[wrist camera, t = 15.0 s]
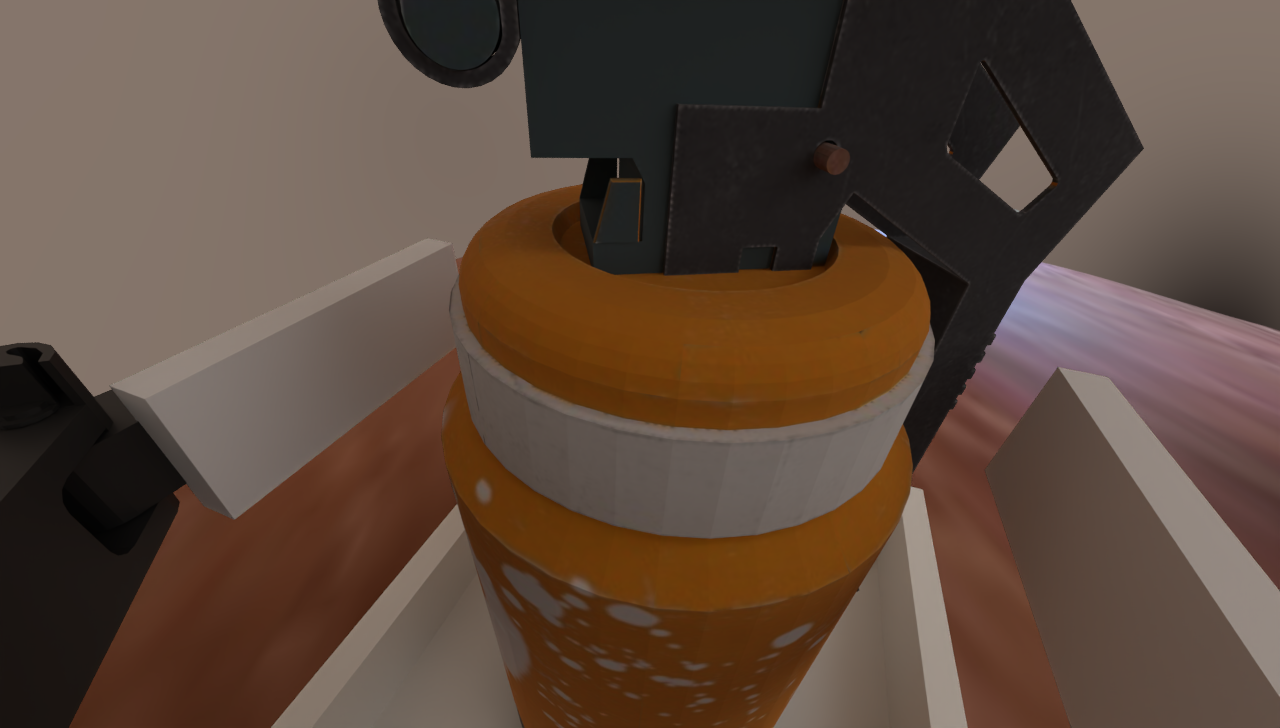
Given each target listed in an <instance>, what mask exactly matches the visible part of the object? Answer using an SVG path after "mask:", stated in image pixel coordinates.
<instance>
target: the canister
mask: <svg viewBox="0 0 1280 728" xmlns="http://www.w3.org/2000/svg"><path fill="white" fill-rule="evenodd" d="M378 5H379V10H380V13H381V16H382V19H383V22H384V25H385V27H386V29H387V31H388V33H389V35H390V36H391V39H392V40H393V42H394V44H395V45H396V46H397V47H398V49H399V50H400V51H401V53H402V54H403V56H404V57H405V58H406V59H407V60H408V61H409V62H410V63H411V64H412V65H413V66H414V67H415V68H416V69H418V70H419V71H421V72H422V73H423V74H425V75H426V76H427V77H429V78H431V79H433V80H435V81H437V82H439V83H441V84H445V85H448V86H452V87H458V88H472V87H478V86H482V85H484V84H486V83H489V82H491V81H493V80H494V79H495V78H497V77H498V76H499V75H501V74H502V73H503V72H504V70H505V69H506V68H507V67H508V65H509V64H510V62H511V60H512V58H513V57H514V54H515V53H516V50H517V48H518V45H519V42H520V39H521V43H522V55H523V67H524V78H525V91H526V103H527V113H528V114H527V115H528V126H529V138H530V150H531V157H532V158H534V157H535V158H589V160H588V165H587V169H586V173H585V177H584V181H583V184H581V185H576V186H570V187H565V188H560V189H556V190H552V191H548V192H544V193H540V194H538V195H535V196H532V197H529V198H526V199H523V200H521V201H519V202H517V203H515V204H513V205H511V206H509V207H507V208H506V209H504V210H503V211H501V212H500V213H498V214H497V215H496V216H494V217H493V218H491V219H490V220H489V221H488V222H486V223H485V224H484V225H483V227H482V228H481V229H480V230H479V231H478V232H477V233H476V234H475V236H474V237H473V239H472V240H471V242H470V244H469V245H468V248H467V250H466V252H465V254H464V256H463V259H462V262H461V266H460V273H459V275H458V277H457V279H456V282H455V284H454V286H453V288H452V290H451V295H450V304H449V314H450V319H451V323H452V328H453V333H454V338H455V343H456V348H457V353H458V358H459V363H460V368H461V371H460V373H459V375H458V376H457V378H456V380H455V381H454V383H453V385H452V387H451V389H450V392H449V395H448V398H447V401H446V404H445V407H444V411H443V422H442V432H441V438H442V444H443V450H444V457H445V463H446V467H447V470H448V474H449V477H450V481H451V484H452V488H453V491H454V494H455V498H456V501H457V505H458V508H459V512H460V515H461V519H462V522H463V525H464V529H465V532H466V536H467V539H468V543H469V546H470V550H471V553H472V556H473V560H474V563H475V567H476V570H477V574H478V577H479V581H480V584H481V587H482V591H483V594H484V598H485V601H486V605H487V608H488V612H489V615H490V618H491V622H492V625H493V629H494V632H495V636H496V639H497V643H498V646H499V649H500V653H501V656H502V660H503V663H504V667H505V670H506V674H507V677H508V680H509V684H510V687H511V691H512V694H513V698H514V701H515V704H516V707H517V711H518V715H519V718H520V722H521V725H522V727H523V728H773V727H774V726H775V724H776V722H777V721H778V719H779V717H780V716H781V714H782V713H783V711H784V709H785V708H786V706H787V704H788V703H789V701H790V699H791V698H792V696H793V695H794V693H795V691H796V690H797V688H798V686H799V685H800V683H801V681H802V680H803V678H804V677H805V675H806V673H807V672H808V670H809V668H810V667H811V665H812V663H813V662H814V660H815V659H816V657H817V655H818V654H819V652H820V650H821V649H822V647H823V646H824V644H825V642H826V641H827V639H828V637H829V636H830V634H831V632H832V631H833V629H834V628H835V626H836V624H837V623H838V621H839V619H840V618H841V616H842V614H843V613H844V611H845V610H846V608H847V606H848V605H849V603H850V601H851V600H852V598H853V596H854V595H855V593H856V592H858V591H860V590H859V587H860V585H861V583H862V582H863V580H864V578H865V577H866V575H867V574H868V572H869V570H870V569H871V567H872V565H873V564H874V562H875V560H876V559H877V557H878V556H879V554H880V552H881V551H882V549H883V547H884V546H885V544H886V542H887V541H888V539H889V538H890V536H891V534H892V533H893V531H894V529H895V528H896V526H897V524H898V523H899V521H900V518H901V516H902V513H903V511H904V508H905V505H906V503H907V500H908V498H909V495H910V490H911V479H912V474H913V472H914V470H915V468H916V467H917V465H918V463H919V462H920V460H921V458H922V456H923V455H924V453H925V451H926V449H927V448H928V446H929V444H930V443H931V441H932V439H933V437H934V436H935V434H936V432H937V431H938V429H939V427H940V425H941V424H942V422H943V420H944V419H945V417H946V415H947V413H948V412H949V410H951V409H953V408H954V407H955V405H956V403H957V399H956V398H957V396H958V395H961V394H962V393H963V391H964V390H965V388H966V384H965V382H966V381H967V379H971V378H972V376H973V374H974V373H975V370H976V369H975V368H974V367H975V365H976V363H979V362H981V361H982V359H983V357H984V355H985V352H984V350H985V348H986V346H987V345H991V344H992V342H993V340H994V338H995V337H996V334H994V332H995V331H996V329H997V327H998V326H999V324H1000V322H1001V320H1002V319H1003V317H1004V315H1005V314H1006V312H1007V310H1008V308H1009V307H1010V305H1011V303H1012V302H1013V300H1014V298H1015V296H1016V295H1017V293H1018V291H1019V289H1020V288H1021V286H1022V284H1023V283H1024V281H1025V280H1026V279H1027V278H1028V276H1029V275H1030V274H1031V273H1032V272H1033V271H1034V270H1035V269H1036V268H1037V267H1038V265H1039V264H1040V263H1041V262H1042V261H1043V260H1044V259H1045V258H1046V256H1047V255H1048V254H1049V253H1050V252H1051V251H1052V250H1053V249H1054V248H1055V246H1056V245H1057V244H1058V243H1059V242H1060V241H1061V240H1062V239H1063V238H1064V237H1065V235H1066V234H1067V233H1068V232H1069V231H1070V230H1071V229H1072V228H1073V227H1074V225H1075V224H1076V223H1077V222H1078V221H1079V220H1080V219H1081V218H1082V217H1083V215H1084V214H1085V213H1086V212H1087V211H1088V210H1089V209H1090V207H1092V205H1093V204H1094V203H1095V202H1096V201H1097V200H1098V199H1099V198H1100V197H1101V195H1102V194H1103V193H1104V192H1105V191H1106V190H1107V189H1108V188H1109V187H1110V185H1111V184H1112V183H1113V182H1114V181H1115V180H1116V179H1117V178H1118V177H1119V175H1120V174H1121V173H1122V172H1123V171H1124V170H1125V169H1126V168H1127V167H1128V166H1129V164H1130V163H1131V162H1132V161H1133V160H1134V159H1135V158H1136V157H1137V155H1138V154H1139V153H1140V152H1141V151H1142V150H1143V149H1144V148H1143V146H1142V144H1141V142H1140V140H1139V138H1138V135H1137V133H1136V131H1135V130H1134V128H1133V125H1132V123H1131V121H1130V119H1129V117H1128V115H1127V113H1126V111H1125V109H1124V107H1123V105H1122V103H1121V101H1120V99H1119V97H1118V95H1117V93H1116V91H1115V89H1114V87H1113V85H1112V83H1111V81H1110V79H1109V77H1108V75H1107V73H1106V71H1105V69H1104V67H1103V65H1102V63H1101V61H1100V58H1099V56H1098V54H1097V52H1096V50H1095V49H1094V46H1093V44H1092V43H1091V40H1090V38H1089V36H1088V34H1087V32H1086V30H1085V28H1084V26H1083V24H1082V22H1081V20H1080V18H1079V16H1078V14H1077V12H1076V10H1075V8H1074V6H1073V4H1072V2H1071V0H378ZM495 52H496V53H495ZM494 53H495V54H494ZM493 54H494V55H493ZM980 62H981V63H982V65H983V66H982V65H981V63H980ZM983 67H984V68H985V69H984V68H983ZM985 70H986V71H985ZM987 73H988V74H987ZM989 76H990V77H989ZM1019 126H1021V128H1022V129H1023V131H1024V132H1025V134H1026V136H1027V137H1028V139H1029V141H1030V142H1031V144H1032V145H1033V147H1034V149H1035V150H1036V152H1037V154H1038V155H1039V157H1040V158H1041V160H1042V161H1043V163H1044V165H1045V166H1046V168H1047V170H1048V171H1049V173H1050V174H1051V176H1052V178H1053V181H1052V183H1051V185H1050V186H1049V187H1048V188H1047V189H1045V190H1044V191H1043V192H1042V193H1041V194H1040V195H1038V196H1037V197H1036V198H1035V199H1034V200H1033V201H1032V202H1031V203H1029V204H1028V205H1027V206H1026V207H1025V208H1024V209H1023V210H1021V211H1019V212H1016V211H1015V210H1014V209H1013V208H1011V207H1010V206H1009V205H1008V204H1007V203H1006V202H1004V201H1003V200H1002V199H1001V198H1000V197H998V196H997V195H996V194H995V193H994V192H993V191H991V190H990V189H989V188H988V187H987V186H986V185H984V184H983V183H982V182H981V181H980V180H979V179H980V178H981V177H982V175H983V174H984V173H985V171H986V170H987V169H988V167H989V166H990V165H991V164H992V162H993V161H994V160H995V158H996V157H997V155H998V154H999V153H1000V152H1001V150H1002V149H1003V148H1004V146H1005V145H1006V144H1007V142H1008V141H1009V140H1010V138H1011V137H1012V136H1013V134H1014V133H1015V132H1016V130H1017V129H1018V127H1019ZM947 145H948V147H949V148H950V151H949V153H947ZM617 158H619V178H617ZM845 204H846V205H848V206H849V207H850V208H852V209H853V210H855V211H856V212H857V213H858V214H860V215H861V216H862V217H863V218H865V219H866V220H867V221H869V222H870V223H871V224H873V225H874V226H875V227H877V228H878V229H879V230H880V231H882V232H883V233H884V234H886V235H887V237H885V236H883V235H882V234H880V233H879V232H877V231H876V230H874V229H873V228H871V227H869V226H867V225H865V224H863V223H861V222H859V221H857V220H855V219H853V218H851V217H848V216H846V215H844V214H841V210H842V208H843V207H844V205H845Z"/></svg>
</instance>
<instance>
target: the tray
mask: <svg viewBox="0 0 1280 728" xmlns="http://www.w3.org/2000/svg"><path fill="white" fill-rule="evenodd" d="M859 590H860V591H858V592H856V593H855V595H854V596H853V598H852V600H851V601H850V603H849V605H848V606H847V608H846V610H845V611H844V613H843V614H842V616H841V618H840V619H839V621H838V623H837V624H836V626H835V628H834V629H833V631H832V632H831V634H830V636H829V637H828V639H827V641H826V642H825V644H824V646H823V647H822V649H821V650H820V652H819V654H818V655H817V657H816V659H815V660H814V662H813V663H812V665H811V667H810V668H809V670H808V672H807V673H806V675H805V677H804V678H803V680H802V681H801V683H800V685H799V686H798V688H797V690H796V691H795V693H794V695H793V696H792V698H791V699H790V701H789V703H788V704H787V706H786V708H785V709H784V711H783V713H782V714H781V716H780V717H779V719H778V721H777V722H776V724H775V726H774V727H773V728H967V722H966V717H965V712H964V706H963V701H962V696H961V690H960V685H959V680H958V674H957V669H956V664H955V658H954V653H953V648H952V642H951V637H950V632H949V627H948V621H947V616H946V611H945V605H944V600H943V595H942V589H941V584H940V579H939V573H938V568H937V563H936V557H935V552H934V547H933V541H932V536H931V531H930V525H929V520H928V515H927V509H926V504H925V499H924V493H923V490H922V489H918V488H914V487H911V490H910V495H909V498H908V500H907V503H906V505H905V508H904V511H903V513H902V516H901V518H900V521H899V523H898V524H897V526H896V528H895V529H894V531H893V533H892V534H891V536H890V538H889V539H888V541H887V542H886V544H885V546H884V547H883V549H882V551H881V552H880V554H879V556H878V557H877V559H876V560H875V562H874V564H873V565H872V567H871V569H870V570H869V572H868V574H867V575H866V577H865V578H864V580H863V582H862V583H861V585H860V587H859ZM271 728H523V727H522V725H521V722H520V718H519V715H518V711H517V707H516V704H515V701H514V698H513V694H512V691H511V687H510V684H509V680H508V677H507V674H506V670H505V667H504V663H503V660H502V656H501V653H500V649H499V646H498V643H497V639H496V636H495V632H494V629H493V625H492V622H491V618H490V615H489V612H488V608H487V605H486V601H485V598H484V594H483V591H482V587H481V584H480V581H479V577H478V574H477V570H476V567H475V563H474V560H473V556H472V553H471V550H470V546H469V543H468V539H467V536H466V532H465V529H464V525H463V522H462V519H461V515H460V512H459V508H458V505H456V506H455V507H454V508H453V509H452V511H451V512H450V513H449V514H448V515H447V517H446V518H445V519H444V520H443V521H442V523H441V524H440V525H439V526H438V527H437V529H436V530H435V531H434V532H433V533H432V535H431V536H430V537H429V538H428V539H427V541H426V542H425V543H424V544H423V545H422V547H421V548H420V549H419V550H418V551H417V553H416V554H415V555H414V556H413V558H412V559H411V560H410V561H409V562H408V564H407V565H406V566H405V567H404V568H403V570H402V571H401V572H400V573H399V574H398V576H397V577H396V578H395V579H394V580H393V582H392V583H391V584H390V585H389V586H388V588H387V589H386V590H385V591H384V592H383V594H382V595H381V596H380V597H379V598H378V600H377V601H376V602H375V603H374V604H373V606H372V607H371V608H370V609H369V610H368V612H367V613H366V614H365V615H364V616H363V618H362V619H361V620H360V621H359V622H358V624H357V625H356V626H355V627H354V628H353V630H352V631H351V632H350V633H349V634H348V636H347V637H346V638H345V639H344V640H343V642H342V643H341V644H340V645H339V646H338V648H337V649H336V650H335V651H334V652H333V654H332V655H331V656H330V657H329V658H328V660H327V661H326V662H325V663H324V664H323V666H322V667H321V668H320V669H319V670H318V672H317V673H316V674H315V675H314V676H313V678H312V679H311V680H310V681H309V682H308V684H307V685H306V686H305V687H304V688H303V690H302V691H301V692H300V693H299V694H298V696H297V697H296V698H295V699H294V700H293V702H292V703H291V704H290V705H289V706H288V708H287V709H286V710H285V711H284V712H283V714H282V715H281V716H280V717H279V718H278V720H277V721H276V722H275V723H274V724H273V726H272V727H271Z"/></svg>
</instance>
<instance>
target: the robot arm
mask: <svg viewBox="0 0 1280 728" xmlns="http://www.w3.org/2000/svg"><path fill="white" fill-rule="evenodd" d="M457 277H458V270H457V265H456V259H455V254H454V249H453V244H452V243H448V242H443V241H439V240H434V239H428V238H427V239H425V240H422V241H420V242H418V243H416V244H414V245H412V246H410V247H407V248H405V249H403V250H401V251H399V252H397V253H394V254H392V255H390V256H388V257H386V258H384V259H382V260H380V261H377V262H375V263H373V264H371V265H369V266H367V267H364V268H362V269H360V270H358V271H356V272H353V273H351V274H349V275H347V276H345V277H343V278H340V279H339V280H336V281H334V282H332V283H330V284H328V285H325V286H323V287H321V288H319V289H317V290H315V291H313V292H310V293H308V294H306V295H304V296H302V297H299V298H297V299H295V300H293V301H291V302H289V303H287V304H284V305H282V306H280V307H278V308H276V309H274V310H271V311H269V312H267V313H265V314H263V315H261V316H259V317H256V318H254V319H252V320H250V321H248V322H246V323H243V324H241V325H239V326H237V327H235V328H233V329H231V330H229V331H226V332H224V333H222V334H220V335H218V336H215V337H213V338H211V339H209V340H207V341H205V342H202V343H200V344H198V345H196V346H194V347H192V348H190V349H187V350H185V351H183V352H181V353H179V354H177V355H175V356H172V357H170V358H168V359H166V360H164V361H162V362H160V363H157V364H155V365H153V366H151V367H149V368H147V369H144V370H142V371H140V372H138V373H136V374H133V375H131V376H129V377H127V378H125V379H123V380H121V381H118V382H117V383H114V384H112V385H110V387H111V389H112V390H109V391H107V392H105V393H102V394H100V395H97V396H95V397H93V396H92V394H91V393H90V392H89V391H88V389H87V388H86V387H85V386H84V385H83V384H82V382H81V381H80V380H79V379H78V378H77V376H76V375H75V374H74V373H73V371H72V370H71V369H70V368H69V366H68V365H67V364H66V363H65V362H64V360H63V359H62V358H61V357H60V356H59V354H58V353H57V352H56V351H55V350H54V348H53V347H52V346H51V345H47V344H42V343H16V344H11V345H5V346H0V728H69V726H70V724H71V722H72V720H73V718H74V716H75V714H76V712H77V710H78V708H79V706H80V704H81V702H82V700H83V698H84V696H85V694H86V692H87V690H88V688H89V686H90V684H91V682H92V680H93V678H94V676H95V674H96V672H97V670H98V668H99V666H100V664H101V662H102V660H103V658H104V656H105V654H106V653H107V651H108V649H109V647H110V645H111V643H112V641H113V639H114V637H115V635H116V633H117V631H118V629H119V627H120V625H121V623H122V621H123V619H124V617H125V615H126V613H127V611H128V609H129V607H130V605H131V603H132V601H133V599H134V597H135V595H136V593H137V591H138V589H139V587H140V585H141V583H142V581H143V579H144V577H145V575H146V573H147V571H148V569H149V567H150V565H151V563H152V561H153V559H154V557H155V555H156V553H157V551H158V550H159V548H160V546H161V544H162V542H163V540H164V538H165V536H166V534H167V532H168V530H169V528H170V526H171V524H172V522H173V520H174V518H175V516H176V514H177V512H178V507H179V500H178V499H177V498H176V496H175V495H174V494H173V492H174V491H176V490H177V489H179V488H180V487H182V486H183V485H185V484H187V485H188V486H189V488H190V489H191V490H192V492H193V493H194V494H195V495H196V497H197V498H198V499H199V500H200V502H201V503H202V504H203V506H205V507H207V508H209V509H212V510H214V511H216V512H218V513H221V514H223V515H225V516H227V517H230V518H232V519H234V520H235V519H236V518H237V517H239V516H240V515H241V514H243V513H244V512H245V511H246V510H248V509H249V508H250V507H252V506H253V505H254V504H255V503H257V502H258V501H259V500H260V499H262V498H263V497H264V496H266V495H267V494H268V493H269V492H271V491H272V490H273V489H275V488H276V487H277V486H278V485H280V484H281V483H282V482H284V481H285V480H286V479H287V478H289V477H290V476H291V475H293V474H294V473H295V472H296V471H298V470H299V469H300V468H302V467H303V466H304V465H305V464H307V463H308V462H309V461H310V460H312V459H313V458H314V457H316V456H317V455H318V454H319V453H321V452H322V451H323V450H325V449H326V448H327V447H328V446H330V445H331V444H332V443H334V442H335V441H336V440H337V439H339V438H340V437H341V436H343V435H344V434H345V433H346V432H348V431H349V430H350V429H352V428H353V427H354V426H355V425H357V424H358V423H359V422H360V421H362V420H363V419H364V418H366V417H367V416H368V415H369V414H371V413H372V412H373V411H375V410H376V409H377V408H378V407H380V406H381V405H382V404H384V403H385V402H386V401H387V400H389V399H390V398H391V397H393V396H394V395H395V394H396V393H398V392H399V391H400V390H402V389H403V388H404V387H405V386H407V385H408V384H409V383H411V382H412V381H413V380H414V379H416V378H417V377H418V376H419V375H421V374H422V373H423V372H425V371H426V370H427V369H428V368H430V367H431V366H432V365H434V364H435V363H436V362H437V361H439V360H440V359H441V358H443V357H444V356H445V355H446V354H448V353H449V352H450V351H452V350H453V349H454V348H455V347H456V343H455V338H454V333H453V328H452V323H451V319H450V314H449V304H450V295H451V290H452V288H453V286H454V284H455V282H456V279H457ZM985 473H986V476H987V479H988V482H989V485H990V487H991V490H992V493H993V496H994V499H995V502H996V505H997V508H998V511H999V514H1000V517H1001V520H1002V523H1003V526H1004V529H1005V532H1006V535H1007V538H1008V541H1009V544H1010V547H1011V550H1012V553H1013V556H1014V559H1015V562H1016V565H1017V568H1018V571H1019V574H1020V577H1021V580H1022V583H1023V586H1024V589H1025V592H1026V595H1027V598H1028V601H1029V604H1030V607H1031V610H1032V613H1033V616H1034V619H1035V622H1036V625H1037V628H1038V631H1039V634H1040V637H1041V640H1042V643H1043V646H1044V648H1045V651H1046V654H1047V657H1048V660H1049V663H1050V666H1051V669H1052V672H1053V675H1054V678H1055V681H1056V684H1057V687H1058V690H1059V693H1060V696H1061V699H1062V702H1063V705H1064V708H1065V711H1066V714H1067V717H1068V720H1069V723H1070V726H1071V728H1280V590H1278V588H1277V587H1276V586H1275V585H1274V583H1273V582H1272V581H1271V580H1270V578H1269V577H1268V576H1267V575H1266V573H1265V572H1264V571H1263V570H1262V568H1261V567H1260V566H1259V565H1258V563H1257V562H1256V561H1255V560H1254V558H1253V557H1252V556H1251V555H1250V553H1249V552H1248V551H1247V550H1246V548H1245V547H1244V546H1243V545H1242V543H1241V542H1240V541H1239V540H1238V538H1237V537H1236V536H1235V535H1234V533H1233V532H1232V531H1231V530H1230V528H1229V527H1228V526H1227V525H1226V523H1225V522H1224V521H1223V520H1222V518H1221V517H1220V516H1219V515H1218V513H1217V512H1216V511H1215V510H1214V508H1213V507H1212V506H1211V505H1210V504H1209V502H1208V501H1207V500H1206V499H1205V497H1204V496H1203V495H1202V494H1201V492H1200V491H1199V490H1198V489H1197V487H1196V486H1195V485H1194V484H1193V482H1192V481H1191V480H1190V479H1189V477H1188V476H1187V475H1186V474H1185V472H1184V471H1183V470H1182V469H1181V467H1180V466H1179V465H1178V464H1177V462H1176V461H1175V460H1174V459H1173V457H1172V456H1171V455H1170V454H1169V452H1168V451H1167V450H1166V449H1165V447H1164V446H1163V445H1162V444H1161V442H1160V441H1159V440H1158V439H1157V437H1156V436H1155V435H1154V434H1153V432H1152V431H1151V430H1150V429H1149V427H1148V426H1147V425H1146V424H1145V422H1144V421H1143V420H1142V419H1141V417H1140V416H1139V415H1138V414H1137V412H1136V411H1135V410H1134V409H1133V408H1132V406H1131V405H1130V404H1129V403H1128V401H1127V400H1126V399H1125V398H1124V396H1123V395H1122V394H1121V393H1120V391H1119V390H1118V389H1117V388H1116V386H1115V385H1114V384H1113V383H1112V381H1111V380H1110V379H1109V378H1108V377H1104V376H1100V375H1095V374H1090V373H1085V372H1080V371H1075V370H1070V369H1065V368H1060V367H1058V368H1057V369H1056V371H1055V372H1054V373H1053V375H1052V376H1051V378H1050V379H1049V380H1048V382H1047V383H1046V385H1045V386H1044V387H1043V389H1042V390H1041V392H1040V393H1039V394H1038V396H1037V397H1036V399H1035V400H1034V401H1033V403H1032V404H1031V406H1030V407H1029V408H1028V410H1027V411H1026V413H1025V414H1024V416H1023V417H1022V418H1021V420H1020V421H1019V423H1018V424H1017V425H1016V427H1015V428H1014V430H1013V431H1012V432H1011V434H1010V435H1009V437H1008V438H1007V439H1006V441H1005V442H1004V444H1003V445H1002V446H1001V448H1000V449H999V451H998V452H997V453H996V455H995V456H994V458H993V459H992V460H991V462H990V463H989V465H988V466H987V467H986V469H985Z"/></svg>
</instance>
